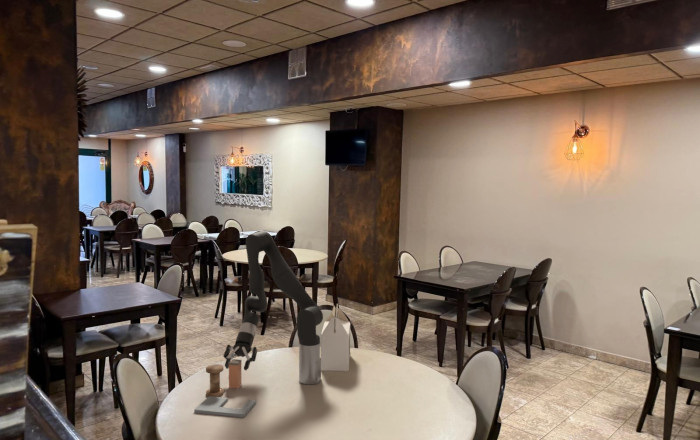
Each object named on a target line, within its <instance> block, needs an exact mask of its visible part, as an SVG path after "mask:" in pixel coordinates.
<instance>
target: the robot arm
mask: <svg viewBox="0 0 700 440" xmlns="http://www.w3.org/2000/svg"><path fill="white" fill-rule="evenodd" d="M245 249H246V256H247V264H248V271H249V272H248V273H249V283H248V284H249V285H248V286H249V287H248V291H249V293H251V294H252V295H249V296H247V298H246V299H245V301H244V315H243V320H242V323H241V325H240V327H239V330H238V332H237V336H236V340H235V343H234V345H230V344H227V346H226V348H225V351H224V353H223V355H222V357H223V358H224V359H225V363H224V367H225V369H228V370H229V362H230V361H231V360H232V359H236V357H242V358H245V359H246V360H245V362H244V366H243V370H244V371H248V369H249V367H250V365H251V363H252V362H256V358H257V353H258V348H257V347H256V346H253V343H254V339H255V337H256V333H257V328H258V324H259V321H260V317H259V315H258V314H256V313H254V312H258V313H264V312H265V311H266V310H267V308H268V300H267V296H266V292H265V273H264V271H263V268H262V267H261V265H260V261H259V258H260V257H259V256H260V253H261V252H264V254H266V256H267V258H268V259H269V262H270V271H271V276H272V279H273V282H274V283H275V284H276V286H277V287H278V288H279V290H280V291H281V292H282V293H283V294H285V295H286V296H287V297H288V298H290V299H291V300H292V301H294V302H295V303H296V304H297V306H298V308H299V309H300V311H299V312H298V314H297V317H296V329H297V330H296V333H297V338H298V349H299V350H298V354H299V357H298V358H299V359H298V362H299V363H298V370H299V371H298V374H299V375H298V378H299V379H298V381H299V383H301V384H303V385H314V384H317V385H318V384H319V383H320V381H321V379H322V371H321V336H320V335H319V334H317V326H318V325H320V324H322V322H323V320H324V315H323V314H324V313H323V311H322V310H321V308H320V306H318V304H317V303H316V302H315V301H314V300H313V298H312V297H311V296H310V295H309V293H308V292H307V290H306V289H305V288H304V286H303V285H302V284H301V282H300V280H299V278H297V276H296V274H295V272H294V271H293V270H292V268H291V267H290V266H289V264H288V263H287V262H286V260H285V258H284V257H283V255H282V254H281V252H280V250H279V249H278V247H277V245H276V242H275V241H274V238H273V237H272V236H271V234H270V233H269V232H267V231H266V230H260V231H257V232H253V233H250V234H249V235H247V237H246V239H245ZM252 346H253V347H252ZM250 352H251V356H250V355H249V354H250Z"/></svg>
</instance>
